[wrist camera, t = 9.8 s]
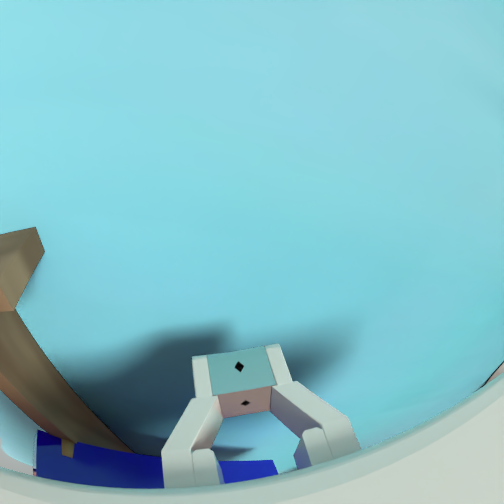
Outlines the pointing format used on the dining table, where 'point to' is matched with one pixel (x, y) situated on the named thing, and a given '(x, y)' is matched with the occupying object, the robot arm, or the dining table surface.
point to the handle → (39, 358)
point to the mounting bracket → (122, 466)
